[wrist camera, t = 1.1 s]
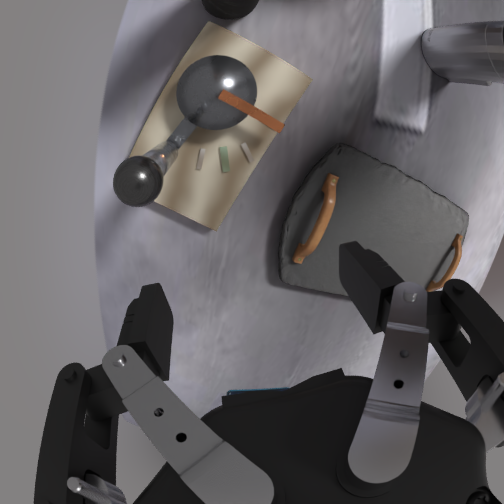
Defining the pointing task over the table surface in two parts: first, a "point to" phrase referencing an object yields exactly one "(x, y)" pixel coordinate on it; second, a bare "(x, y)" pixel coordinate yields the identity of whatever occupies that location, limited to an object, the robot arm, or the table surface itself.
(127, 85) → the table surface
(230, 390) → the smartphone
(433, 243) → the serving board
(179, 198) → the flat beige board
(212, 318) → the table surface
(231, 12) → the travel mug
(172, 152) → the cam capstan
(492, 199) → the table surface
